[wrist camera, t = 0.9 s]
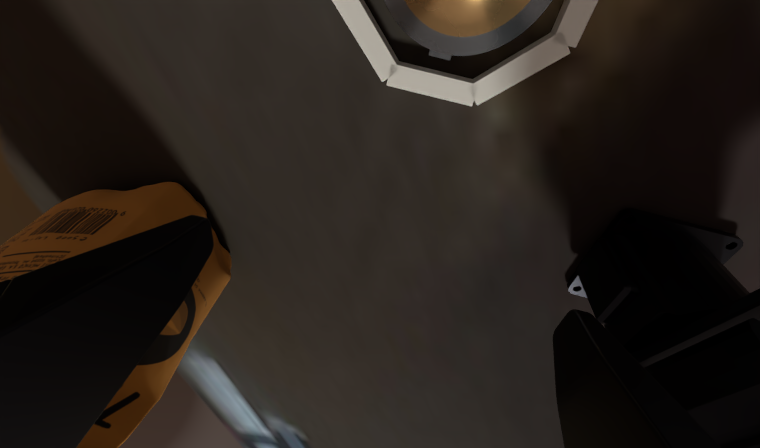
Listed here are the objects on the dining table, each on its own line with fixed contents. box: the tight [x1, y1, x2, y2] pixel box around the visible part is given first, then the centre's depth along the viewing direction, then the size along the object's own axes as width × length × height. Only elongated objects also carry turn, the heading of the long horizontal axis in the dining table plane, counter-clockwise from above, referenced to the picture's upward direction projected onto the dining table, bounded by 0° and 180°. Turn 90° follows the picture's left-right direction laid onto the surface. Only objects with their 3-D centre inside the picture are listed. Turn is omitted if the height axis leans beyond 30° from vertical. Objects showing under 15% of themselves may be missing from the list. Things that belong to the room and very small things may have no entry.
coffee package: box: [0, 182, 231, 448], centre depth 17 cm, size 10×12×22 cm
